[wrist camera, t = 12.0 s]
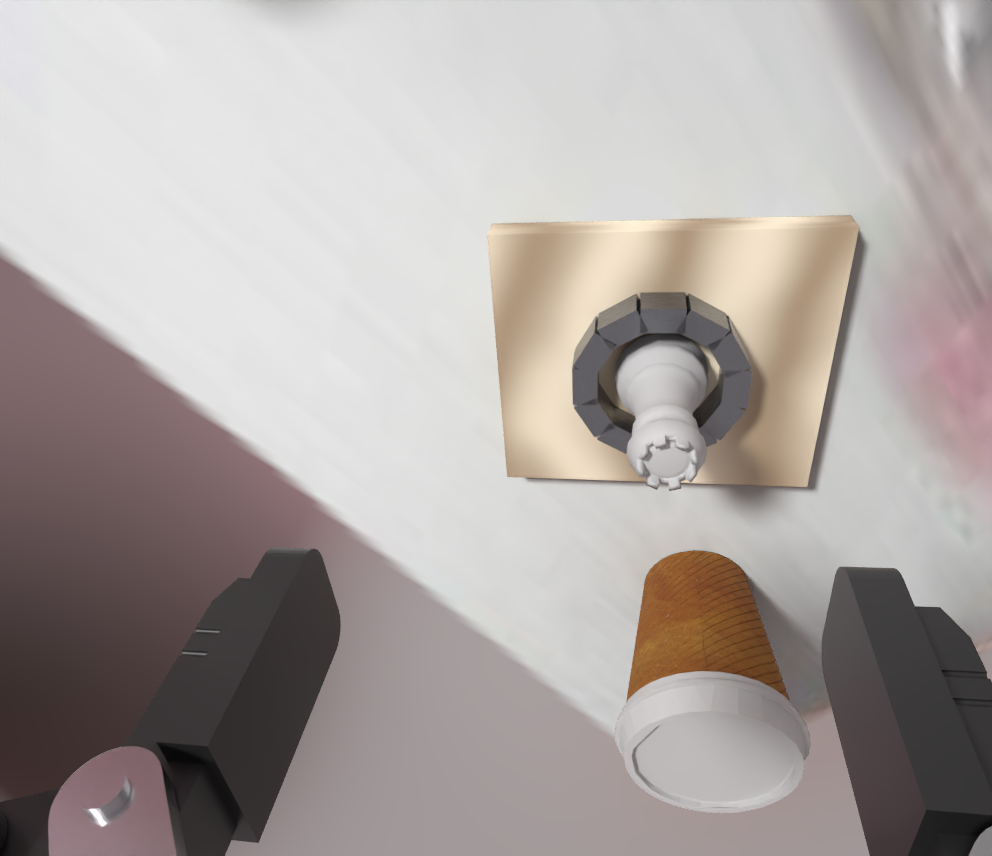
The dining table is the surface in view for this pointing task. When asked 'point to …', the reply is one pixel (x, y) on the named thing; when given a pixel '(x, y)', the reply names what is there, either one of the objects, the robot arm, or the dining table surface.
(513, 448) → the birch base plate
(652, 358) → the rook chess piece
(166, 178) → the dining table surface
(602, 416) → the steel socket collar
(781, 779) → the disposable coffee cup
